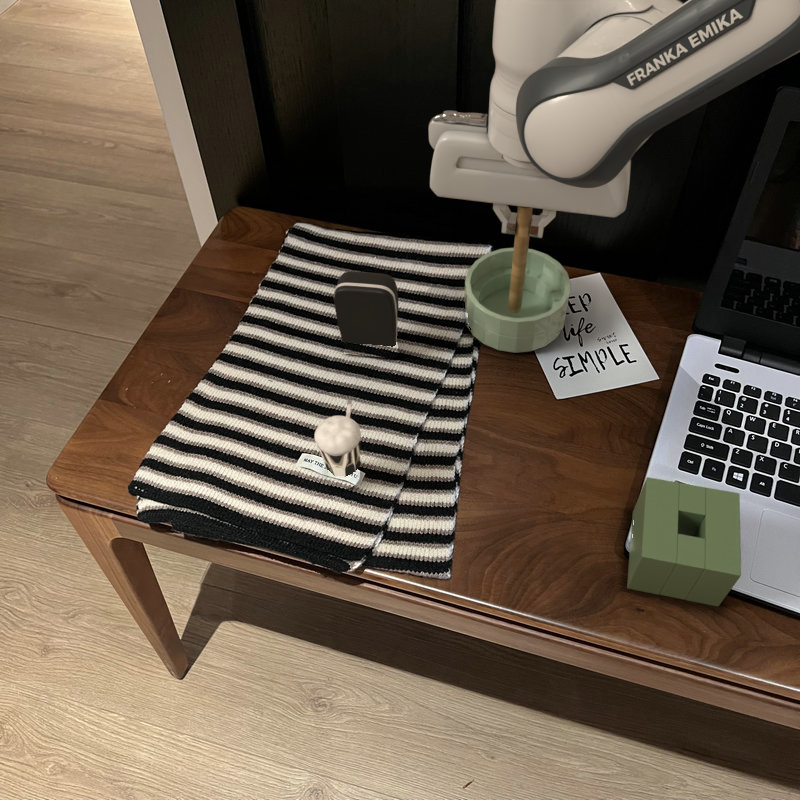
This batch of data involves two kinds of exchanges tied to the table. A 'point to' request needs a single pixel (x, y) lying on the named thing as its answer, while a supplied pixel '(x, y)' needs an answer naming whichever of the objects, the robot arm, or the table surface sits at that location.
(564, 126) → the robot arm
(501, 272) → the bowl
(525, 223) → the stick
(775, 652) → the table surface
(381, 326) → the battery charger
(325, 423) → the milkshake
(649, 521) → the holder
